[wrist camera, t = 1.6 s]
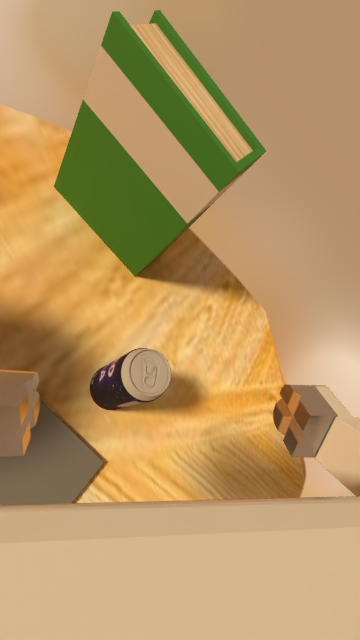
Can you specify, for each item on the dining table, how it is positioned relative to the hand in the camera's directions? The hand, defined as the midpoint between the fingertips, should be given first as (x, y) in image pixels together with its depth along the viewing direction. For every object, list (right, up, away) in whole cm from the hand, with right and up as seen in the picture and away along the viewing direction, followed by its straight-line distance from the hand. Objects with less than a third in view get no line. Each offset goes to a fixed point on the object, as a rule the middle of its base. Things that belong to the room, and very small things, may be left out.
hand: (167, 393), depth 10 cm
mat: (-17, -14, +23) cm, 32 cm away
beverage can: (-9, -7, +31) cm, 33 cm away
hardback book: (-11, +18, +40) cm, 45 cm away
